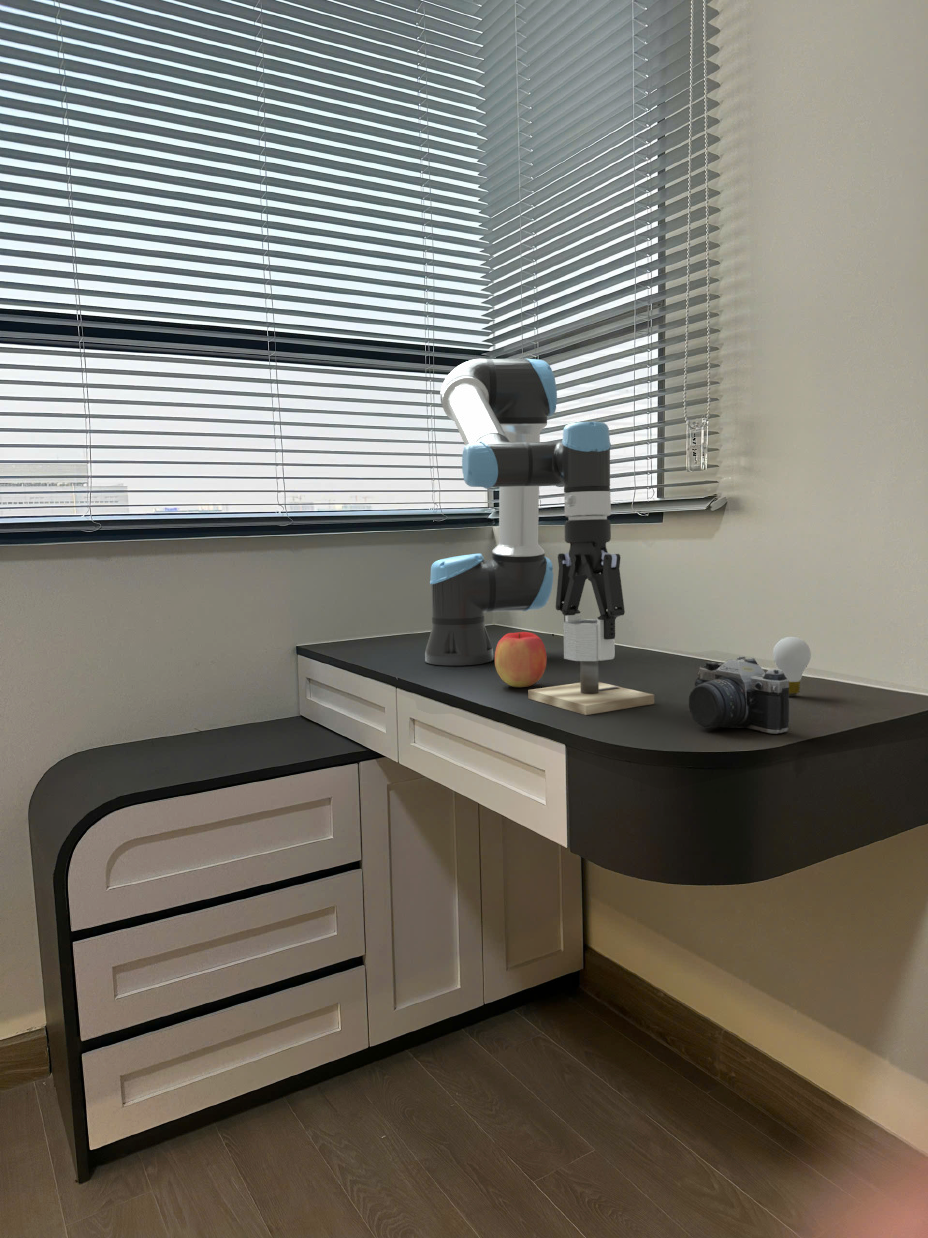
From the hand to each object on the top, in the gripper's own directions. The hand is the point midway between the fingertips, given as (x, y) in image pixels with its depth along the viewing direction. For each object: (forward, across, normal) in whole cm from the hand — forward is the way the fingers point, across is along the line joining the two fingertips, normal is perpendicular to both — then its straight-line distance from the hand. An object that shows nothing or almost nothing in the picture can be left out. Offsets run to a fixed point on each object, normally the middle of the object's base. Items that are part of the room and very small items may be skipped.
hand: (589, 655), depth 144 cm
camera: (+8, +26, +5) cm, 28 cm away
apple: (+8, -18, -2) cm, 20 cm away
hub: (0, 0, 0) cm, 0 cm away
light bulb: (+8, +17, +29) cm, 34 cm away
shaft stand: (+8, 0, 0) cm, 8 cm away
